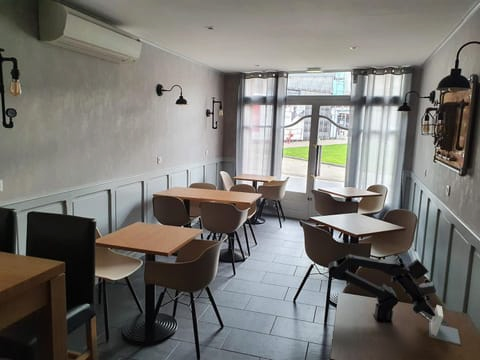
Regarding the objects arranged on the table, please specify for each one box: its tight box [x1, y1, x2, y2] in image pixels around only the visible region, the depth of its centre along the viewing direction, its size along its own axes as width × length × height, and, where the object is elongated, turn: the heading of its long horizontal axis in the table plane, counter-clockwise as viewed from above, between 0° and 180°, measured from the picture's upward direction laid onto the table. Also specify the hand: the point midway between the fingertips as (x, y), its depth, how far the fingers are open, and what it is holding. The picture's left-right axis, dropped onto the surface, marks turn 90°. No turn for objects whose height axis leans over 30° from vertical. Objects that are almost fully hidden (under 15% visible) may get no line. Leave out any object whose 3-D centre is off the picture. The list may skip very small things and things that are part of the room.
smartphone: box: [418, 311, 449, 326], centre depth 164 cm, size 7×1×16 cm
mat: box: [428, 321, 461, 346], centre depth 149 cm, size 11×12×1 cm
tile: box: [431, 304, 444, 336], centre depth 150 cm, size 2×10×9 cm, turn 153°
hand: (434, 315), depth 150 cm, fingers closed
